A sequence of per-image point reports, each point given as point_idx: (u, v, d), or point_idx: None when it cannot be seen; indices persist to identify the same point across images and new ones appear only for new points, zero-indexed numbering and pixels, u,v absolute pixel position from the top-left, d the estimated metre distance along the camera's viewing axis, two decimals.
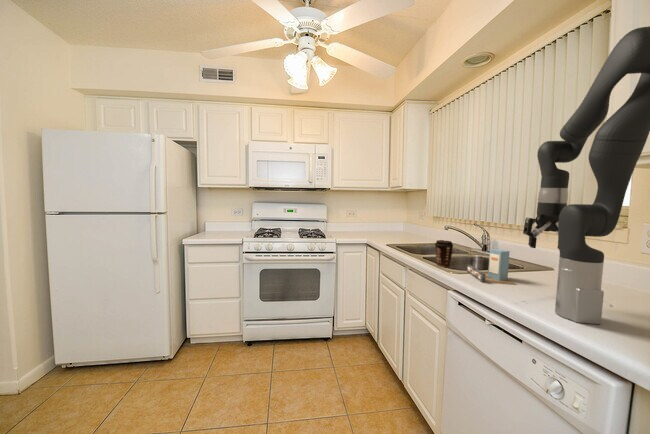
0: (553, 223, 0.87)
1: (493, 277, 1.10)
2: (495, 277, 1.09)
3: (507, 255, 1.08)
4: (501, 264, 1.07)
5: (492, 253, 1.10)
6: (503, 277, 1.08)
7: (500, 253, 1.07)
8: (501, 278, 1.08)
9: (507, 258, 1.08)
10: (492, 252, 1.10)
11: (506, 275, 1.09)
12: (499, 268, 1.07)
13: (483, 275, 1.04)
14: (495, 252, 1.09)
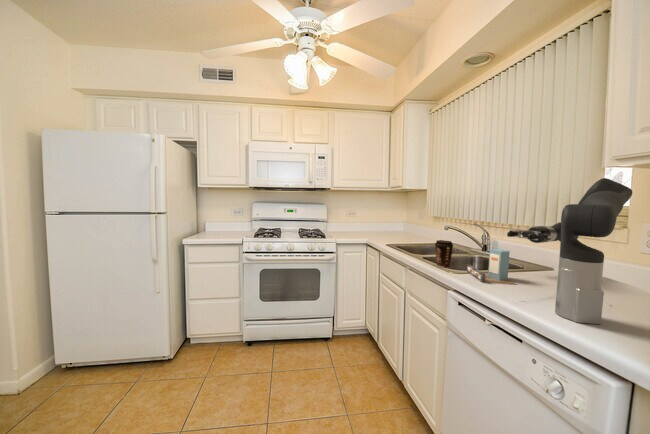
0: (532, 232, 1.16)
1: (493, 277, 1.10)
2: (495, 277, 1.09)
3: (507, 255, 1.08)
4: (501, 264, 1.07)
5: (492, 253, 1.10)
6: (503, 277, 1.08)
7: (500, 253, 1.07)
8: (501, 278, 1.08)
9: (507, 258, 1.08)
10: (492, 252, 1.10)
11: (506, 275, 1.09)
12: (499, 268, 1.07)
13: (483, 275, 1.04)
14: (495, 252, 1.09)
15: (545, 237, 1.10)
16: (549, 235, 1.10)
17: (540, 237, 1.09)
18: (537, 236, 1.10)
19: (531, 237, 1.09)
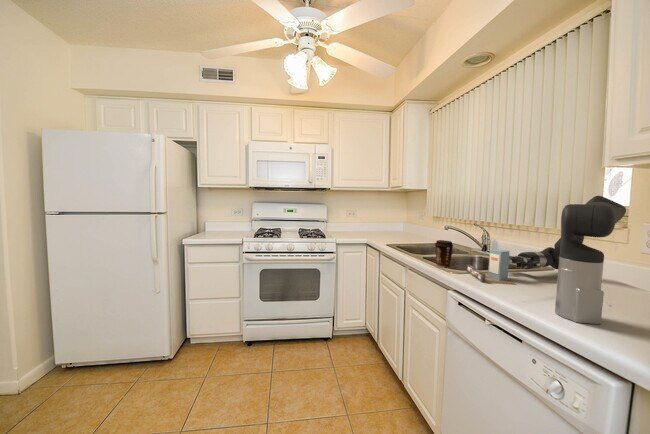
0: (522, 258, 1.14)
1: (493, 277, 1.10)
2: (495, 277, 1.09)
3: (507, 255, 1.08)
4: (501, 264, 1.07)
5: (492, 253, 1.10)
6: (503, 277, 1.08)
7: (500, 253, 1.07)
8: (501, 278, 1.08)
9: (507, 258, 1.08)
10: (492, 252, 1.10)
11: (506, 275, 1.09)
12: (499, 268, 1.07)
13: (483, 275, 1.04)
14: (495, 252, 1.09)
15: (534, 265, 1.08)
16: (538, 263, 1.09)
17: (529, 265, 1.08)
18: (526, 264, 1.08)
19: (520, 265, 1.07)
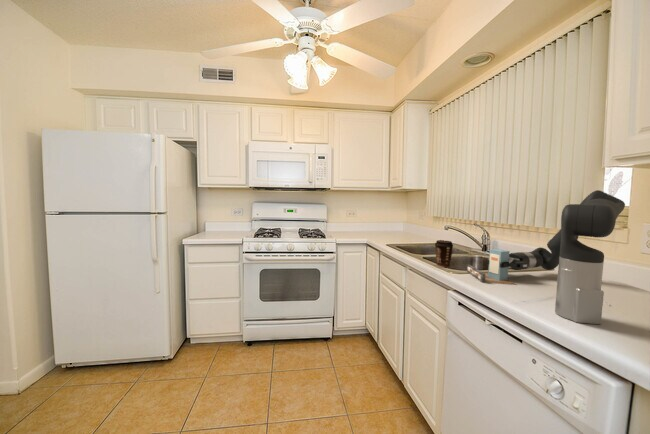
0: None
1: (493, 277, 1.10)
2: (495, 277, 1.09)
3: (507, 255, 1.08)
4: None
5: (492, 253, 1.10)
6: (503, 277, 1.08)
7: (500, 253, 1.07)
8: (501, 278, 1.08)
9: (507, 258, 1.08)
10: (492, 252, 1.10)
11: (506, 275, 1.09)
12: (499, 268, 1.07)
13: (483, 275, 1.04)
14: (495, 252, 1.09)
15: (519, 265, 1.06)
16: (524, 264, 1.06)
17: (512, 265, 1.06)
18: (508, 264, 1.07)
19: (503, 265, 1.06)
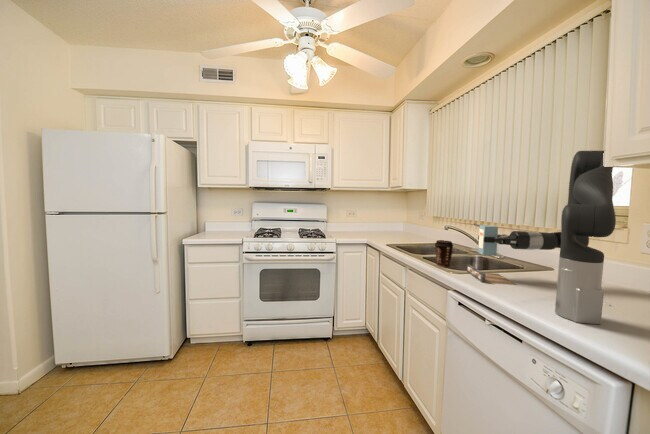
0: None
1: (480, 252, 1.11)
2: (481, 252, 1.10)
3: (494, 230, 1.07)
4: None
5: (480, 228, 1.11)
6: (489, 253, 1.08)
7: (484, 228, 1.08)
8: (486, 253, 1.08)
9: (495, 234, 1.07)
10: (480, 227, 1.11)
11: (494, 251, 1.08)
12: (483, 243, 1.08)
13: (483, 275, 1.04)
14: (482, 227, 1.10)
15: (505, 241, 1.04)
16: (512, 240, 1.03)
17: (497, 240, 1.05)
18: (494, 239, 1.06)
19: (486, 240, 1.07)
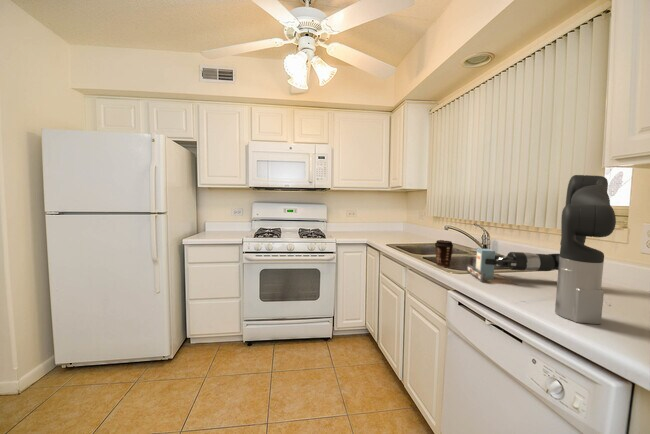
0: None
1: None
2: None
3: (491, 254, 1.08)
4: (482, 263, 1.09)
5: (478, 252, 1.12)
6: (486, 276, 1.09)
7: (481, 252, 1.09)
8: None
9: (492, 258, 1.08)
10: (478, 251, 1.12)
11: (491, 275, 1.08)
12: (480, 266, 1.09)
13: (483, 275, 1.04)
14: (479, 251, 1.11)
15: (506, 264, 1.03)
16: (513, 262, 1.03)
17: (499, 263, 1.04)
18: (496, 262, 1.05)
19: (487, 262, 1.06)
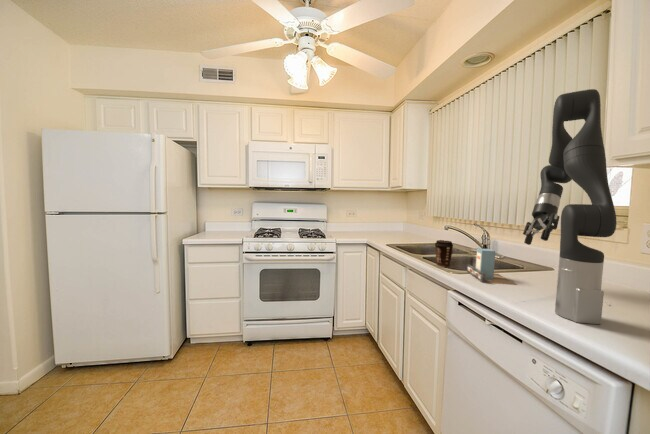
0: None
1: None
2: None
3: (491, 254, 1.08)
4: (482, 263, 1.09)
5: (478, 252, 1.12)
6: (486, 276, 1.09)
7: (481, 252, 1.09)
8: None
9: (492, 258, 1.08)
10: (478, 251, 1.12)
11: (491, 275, 1.08)
12: (480, 266, 1.09)
13: (483, 275, 1.04)
14: (479, 251, 1.11)
15: (554, 222, 0.97)
16: (553, 216, 0.97)
17: (551, 228, 0.97)
18: (548, 230, 0.97)
19: (545, 238, 0.97)
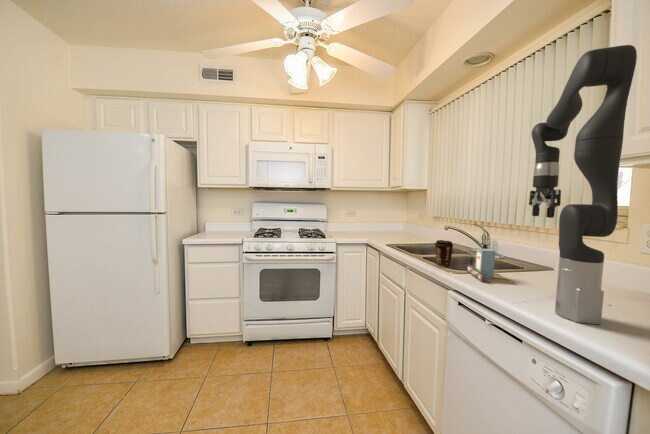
0: None
1: None
2: None
3: (491, 254, 1.08)
4: (482, 263, 1.09)
5: (478, 252, 1.12)
6: (486, 276, 1.09)
7: (481, 252, 1.09)
8: None
9: (492, 258, 1.08)
10: (478, 251, 1.12)
11: (491, 275, 1.08)
12: (480, 266, 1.09)
13: (483, 275, 1.04)
14: (479, 251, 1.11)
15: None
16: (554, 193, 0.94)
17: (554, 206, 0.95)
18: (552, 207, 0.96)
19: (551, 215, 0.97)
